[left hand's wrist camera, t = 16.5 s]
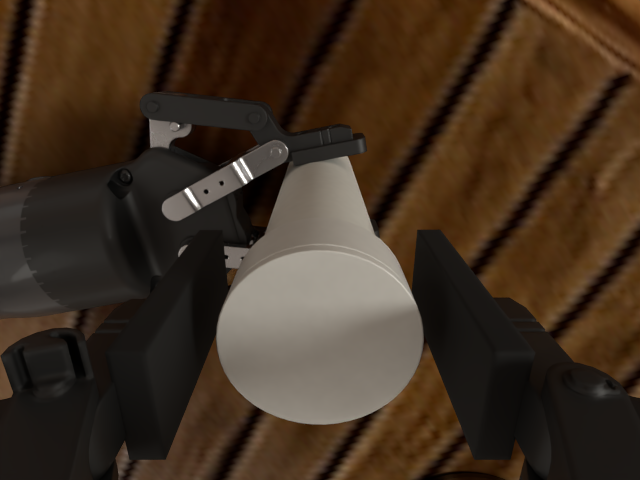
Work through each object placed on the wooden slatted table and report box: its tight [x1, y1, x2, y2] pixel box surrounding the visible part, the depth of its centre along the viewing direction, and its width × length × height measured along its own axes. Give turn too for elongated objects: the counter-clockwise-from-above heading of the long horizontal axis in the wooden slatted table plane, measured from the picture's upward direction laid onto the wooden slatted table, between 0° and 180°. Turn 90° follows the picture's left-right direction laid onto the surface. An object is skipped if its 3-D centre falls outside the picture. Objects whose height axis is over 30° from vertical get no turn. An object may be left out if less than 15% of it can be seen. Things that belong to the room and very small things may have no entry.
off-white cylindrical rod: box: [265, 156, 375, 235], centre depth 19 cm, size 4×4×18 cm
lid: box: [216, 218, 424, 424], centre depth 11 cm, size 5×5×2 cm
